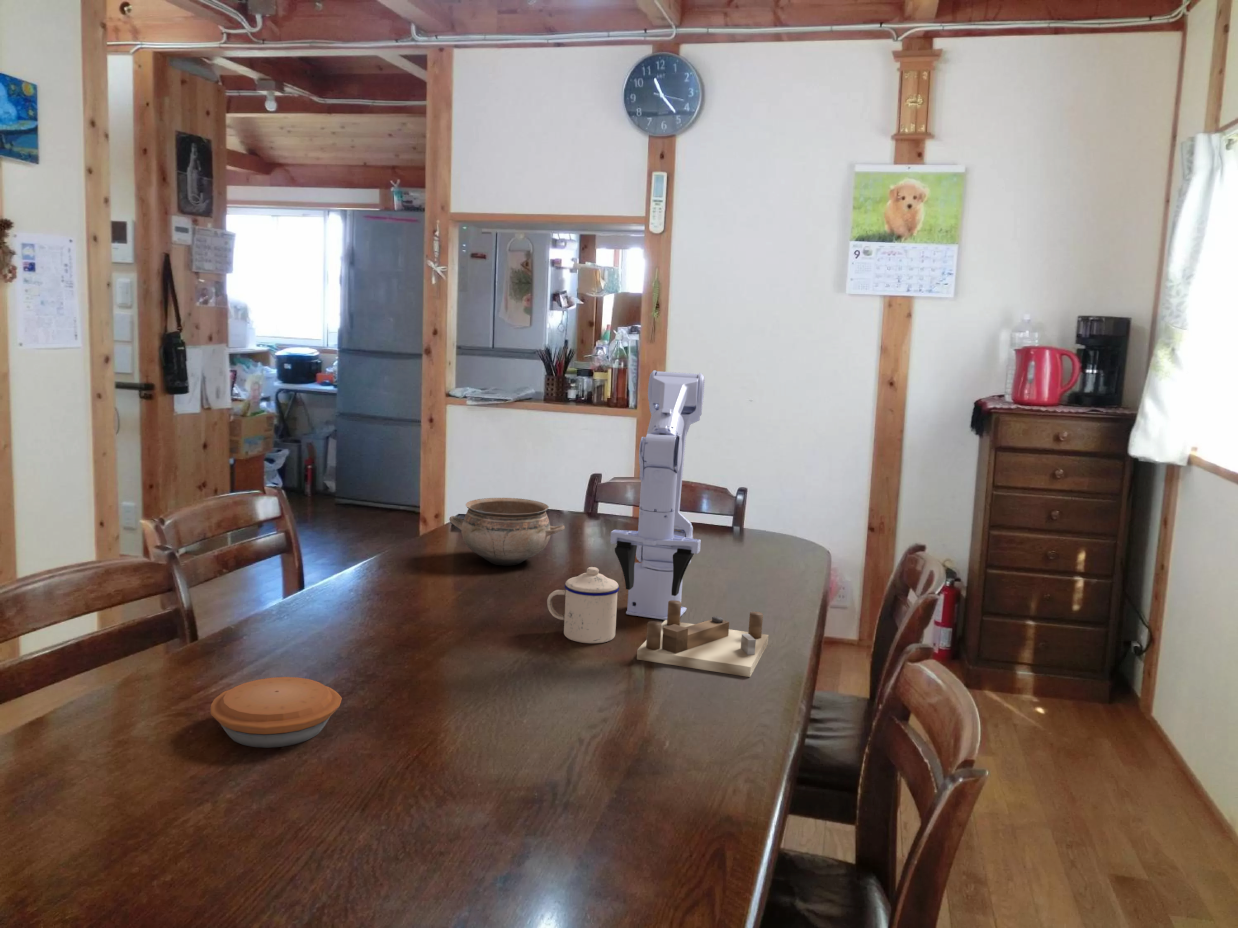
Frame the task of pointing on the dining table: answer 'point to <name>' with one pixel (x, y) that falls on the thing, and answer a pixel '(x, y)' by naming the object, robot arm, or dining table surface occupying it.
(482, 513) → the cooking pot
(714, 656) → the stool seat
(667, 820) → the dining table surface
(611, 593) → the teacup with lid
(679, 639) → the folding leg
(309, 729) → the pie
